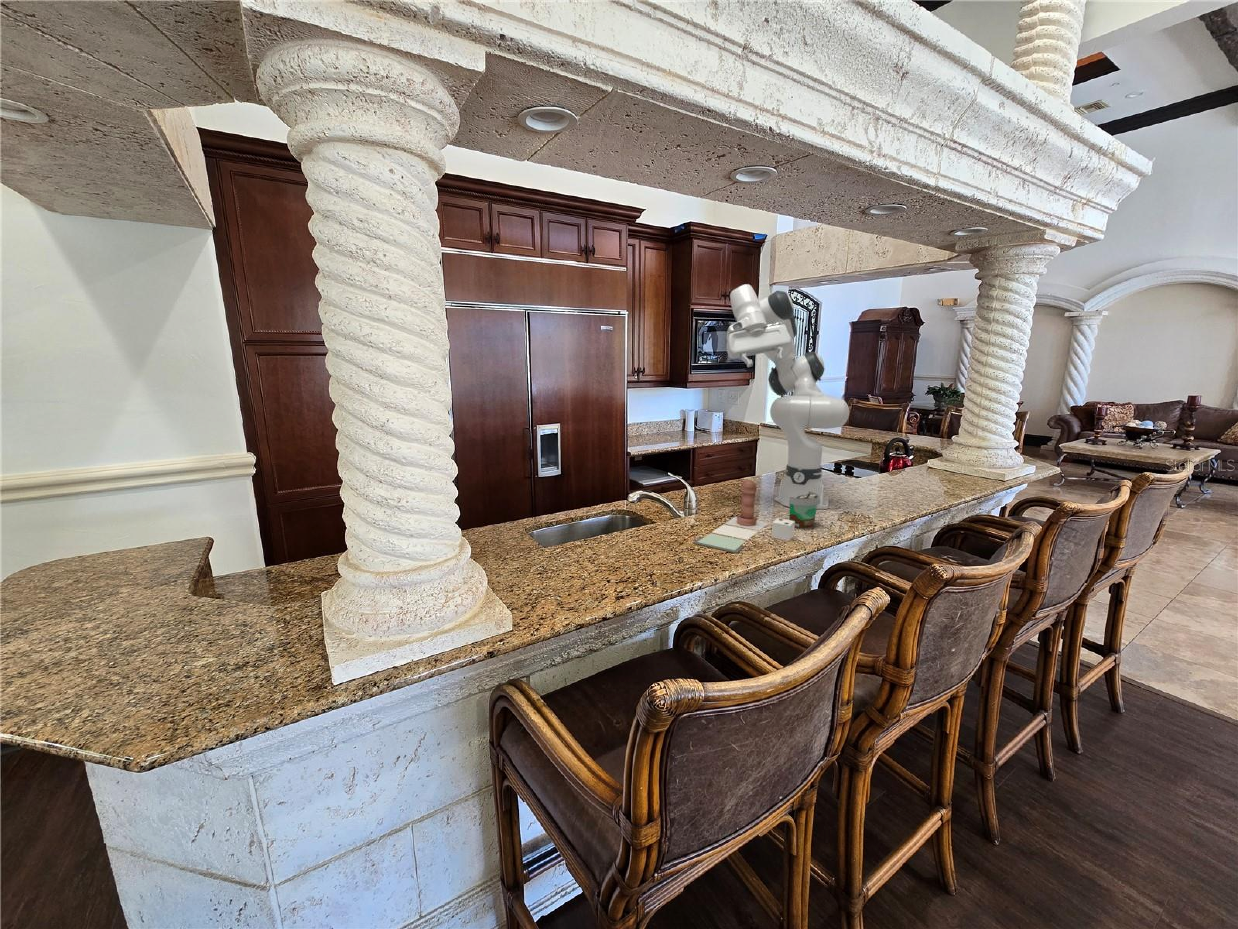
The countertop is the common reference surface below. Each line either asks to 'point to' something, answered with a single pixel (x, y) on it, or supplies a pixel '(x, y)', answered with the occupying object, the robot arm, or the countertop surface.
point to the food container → (804, 509)
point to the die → (783, 529)
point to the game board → (727, 542)
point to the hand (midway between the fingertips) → (765, 363)
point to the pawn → (747, 504)
